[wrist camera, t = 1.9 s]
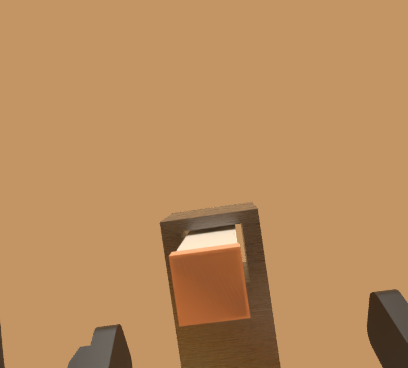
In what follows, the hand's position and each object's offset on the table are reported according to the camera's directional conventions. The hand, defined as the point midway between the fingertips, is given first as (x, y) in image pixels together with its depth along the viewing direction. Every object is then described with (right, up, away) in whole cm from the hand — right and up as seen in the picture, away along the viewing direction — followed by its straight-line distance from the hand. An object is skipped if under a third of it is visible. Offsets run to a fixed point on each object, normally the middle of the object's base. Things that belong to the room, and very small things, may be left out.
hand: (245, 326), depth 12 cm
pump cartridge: (0, -3, +18) cm, 18 cm away
